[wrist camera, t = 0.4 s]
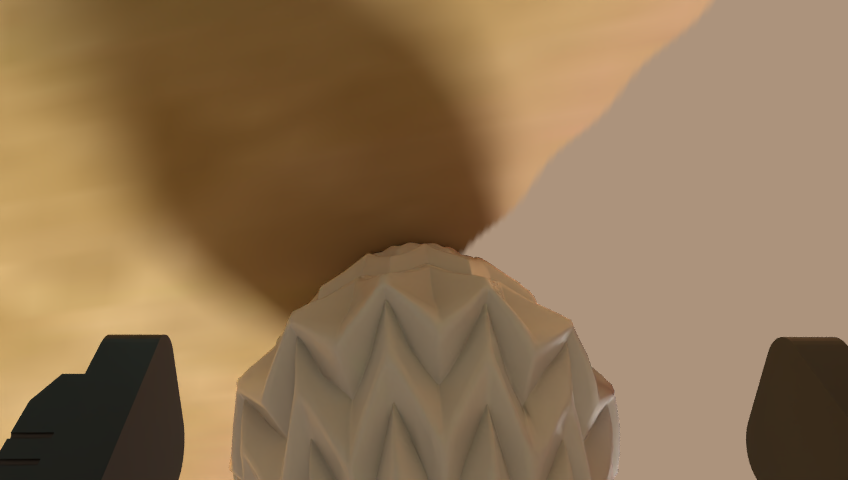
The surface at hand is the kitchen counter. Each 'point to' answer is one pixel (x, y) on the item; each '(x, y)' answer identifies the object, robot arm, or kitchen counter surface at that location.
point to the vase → (425, 382)
